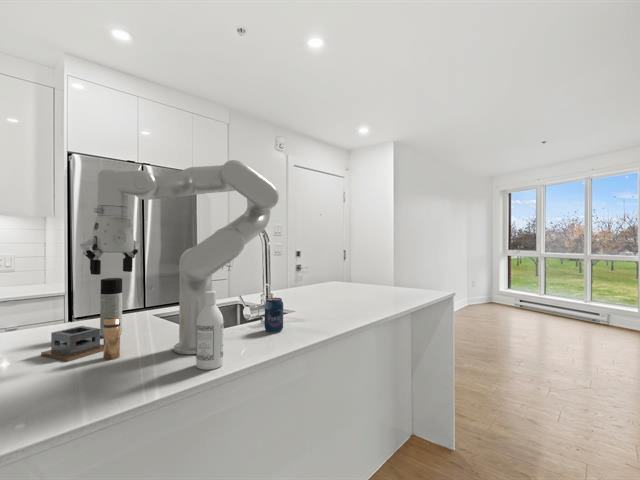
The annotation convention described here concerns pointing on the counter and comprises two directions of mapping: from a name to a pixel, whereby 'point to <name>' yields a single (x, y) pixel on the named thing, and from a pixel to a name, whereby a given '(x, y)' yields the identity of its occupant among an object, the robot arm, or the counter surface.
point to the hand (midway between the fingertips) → (112, 272)
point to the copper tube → (111, 338)
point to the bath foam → (209, 334)
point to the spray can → (110, 301)
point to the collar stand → (74, 343)
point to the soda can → (273, 315)
